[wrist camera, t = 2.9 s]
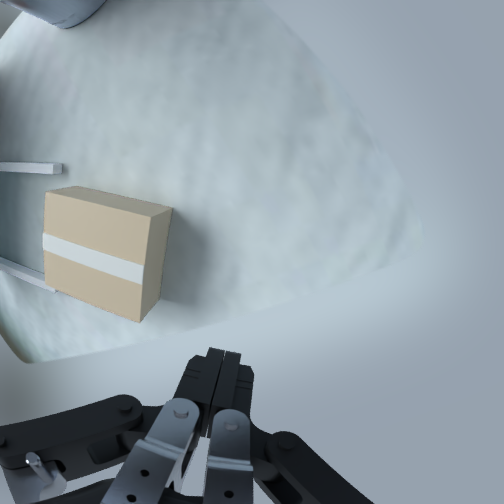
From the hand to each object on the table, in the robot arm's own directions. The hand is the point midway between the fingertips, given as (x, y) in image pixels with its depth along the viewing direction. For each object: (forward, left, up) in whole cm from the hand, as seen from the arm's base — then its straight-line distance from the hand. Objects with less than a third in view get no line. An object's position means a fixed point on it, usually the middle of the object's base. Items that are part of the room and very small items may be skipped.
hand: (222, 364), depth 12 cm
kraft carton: (0, -13, -13) cm, 18 cm away
